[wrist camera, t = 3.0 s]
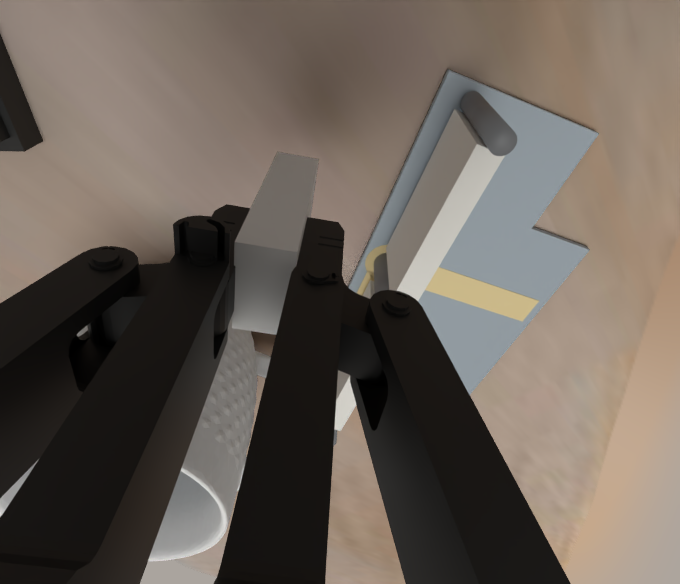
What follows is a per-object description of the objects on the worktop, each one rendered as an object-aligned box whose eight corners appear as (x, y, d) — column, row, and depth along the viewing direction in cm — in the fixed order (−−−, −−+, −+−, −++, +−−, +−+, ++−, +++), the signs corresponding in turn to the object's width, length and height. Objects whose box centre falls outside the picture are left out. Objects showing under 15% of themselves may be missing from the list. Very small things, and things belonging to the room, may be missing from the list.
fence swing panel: (465, 86, 20) (495, 122, 15) (489, 96, 20) (525, 135, 15) (386, 247, 25) (390, 310, 20) (405, 254, 25) (414, 317, 21)
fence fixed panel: (379, 245, 26) (383, 317, 20) (404, 253, 26) (415, 327, 21) (321, 366, 32) (312, 445, 27) (341, 372, 32) (337, 451, 27)
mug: (353, 300, 28) (347, 497, 18) (301, 402, 35) (275, 592, 24) (116, 223, 26) (-55, 402, 15) (107, 348, 32) (-18, 536, 21)
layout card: (447, 68, 20) (449, 70, 20) (659, 158, 22) (664, 161, 22) (305, 379, 33) (304, 384, 33) (446, 418, 35) (447, 422, 35)
